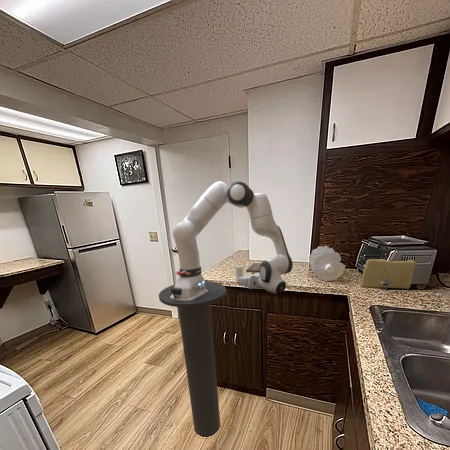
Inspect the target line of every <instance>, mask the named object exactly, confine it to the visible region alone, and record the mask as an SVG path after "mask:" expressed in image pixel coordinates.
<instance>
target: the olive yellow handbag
mask: <svg viewBox="0 0 450 450" xmlns="http://www.w3.org/2000/svg"><path fill="white" fill-rule="evenodd" d="M385 259H386V258H369V259H367V260H366V262H365V265H364V268H363V272H362V277H361V283H360V286H361V287H362V288H378V289H379V288H380V289H381V288H383V289H400V290H401V289H402V290H403V289H404V290H409V289H411V285H412V282H413V278H414V274H415V269H416V265H417V262H416V260H413V259H411V260H407V261H392V262H391V261H387V260H385ZM385 270H387V271H386V272H385ZM384 276H386V280H387V279H388V281H389V282H392V283H391V284H388V287H387V286H384V285H383V284H381V281H382V279H383V277H384Z"/></svg>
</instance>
